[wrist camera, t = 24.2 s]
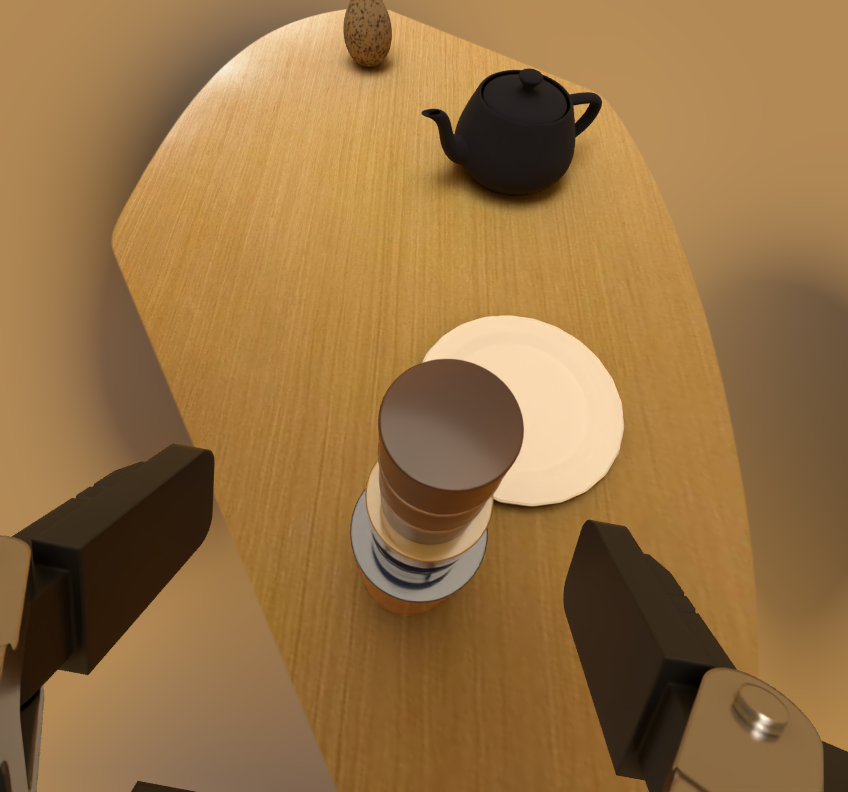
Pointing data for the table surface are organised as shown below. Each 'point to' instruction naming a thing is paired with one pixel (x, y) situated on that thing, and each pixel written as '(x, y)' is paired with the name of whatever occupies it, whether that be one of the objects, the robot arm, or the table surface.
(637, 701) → the robot arm
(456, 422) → the brown ridged cylinder
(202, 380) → the table surface
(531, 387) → the plate
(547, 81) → the teapot
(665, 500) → the table surface
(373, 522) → the bottle
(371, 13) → the decorative egg
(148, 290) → the table surface
